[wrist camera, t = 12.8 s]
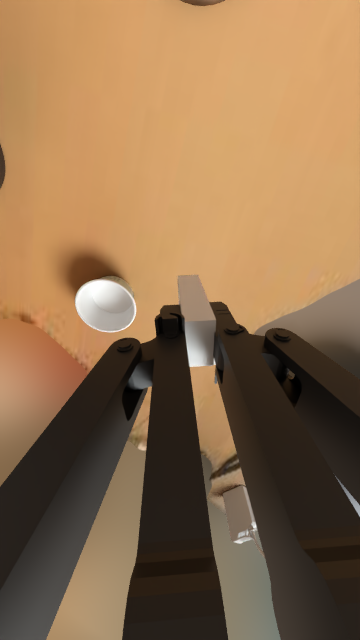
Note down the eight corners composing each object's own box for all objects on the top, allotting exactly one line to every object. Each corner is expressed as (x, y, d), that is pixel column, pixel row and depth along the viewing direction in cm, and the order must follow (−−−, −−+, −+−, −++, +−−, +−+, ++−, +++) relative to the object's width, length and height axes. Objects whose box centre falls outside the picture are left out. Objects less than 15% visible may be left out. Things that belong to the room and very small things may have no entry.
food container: (132, 265, 43) (127, 275, 38) (144, 314, 49) (141, 328, 44) (77, 273, 44) (64, 284, 38) (96, 320, 50) (87, 336, 44)
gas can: (246, 482, 99) (268, 560, 77) (252, 485, 101) (274, 562, 79) (222, 493, 104) (236, 569, 82) (228, 495, 106) (243, 571, 84)
